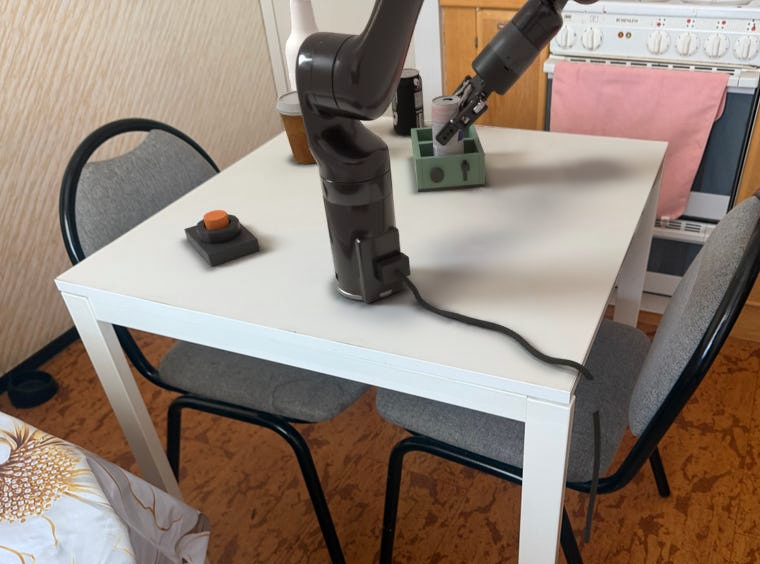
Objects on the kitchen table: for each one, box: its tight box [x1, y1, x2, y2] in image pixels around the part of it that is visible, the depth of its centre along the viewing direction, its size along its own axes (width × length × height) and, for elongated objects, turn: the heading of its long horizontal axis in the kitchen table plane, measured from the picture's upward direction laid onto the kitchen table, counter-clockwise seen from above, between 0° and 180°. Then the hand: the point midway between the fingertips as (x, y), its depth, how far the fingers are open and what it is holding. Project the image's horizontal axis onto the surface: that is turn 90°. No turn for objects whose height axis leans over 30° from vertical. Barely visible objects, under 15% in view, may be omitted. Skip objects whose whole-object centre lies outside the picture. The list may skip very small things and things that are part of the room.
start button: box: [202, 209, 229, 230], centre depth 109 cm, size 4×4×2 cm
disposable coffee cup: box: [275, 90, 317, 165], centre depth 135 cm, size 10×10×12 cm
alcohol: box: [284, 0, 320, 91], centre depth 139 cm, size 9×9×30 cm
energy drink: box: [430, 94, 464, 156], centre depth 122 cm, size 5×5×12 cm
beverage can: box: [391, 67, 426, 137], centre depth 144 cm, size 7×7×12 cm
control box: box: [184, 213, 261, 268], centre depth 110 cm, size 11×8×4 cm
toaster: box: [410, 123, 486, 193], centre depth 127 cm, size 12×17×6 cm
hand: (437, 135), depth 122 cm, fingers closed on energy drink, 5 cm apart
